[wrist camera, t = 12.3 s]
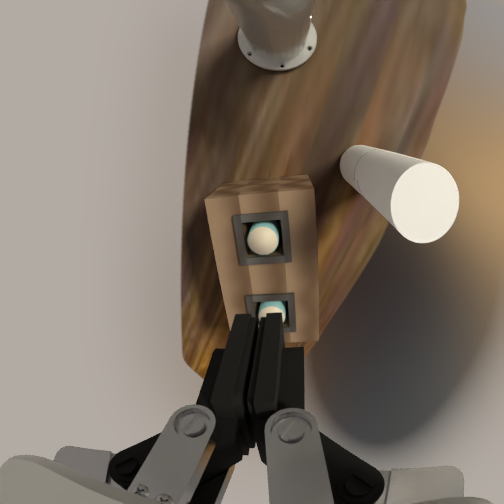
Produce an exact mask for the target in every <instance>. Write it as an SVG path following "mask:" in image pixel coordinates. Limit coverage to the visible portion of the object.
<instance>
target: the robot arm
mask: <svg viewBox="0 0 504 504" xmlns="http://www.w3.org/2000/svg"><path fill="white" fill-rule="evenodd" d="M379 1H391V0H379ZM226 2H227V3H228V5H229V7H230V8H231V10H232V12H233V14H234V16H235V18H236V20H237V22H238V24H239V26H240V28H239V31H238V43H239V47H240V49H241V51H242V53H243V54H244V56H245V57H246V58H247V59H248V60H249V61H250V62H251V63H253V64H254V65H256V66H258V67H260V68H263V69H266V70H271V71H286V70H291V69H294V68H296V67H299V66H300V65H302V64H304V63H305V62H306V61H307V60H308V59H309V58H310V57H311V56H312V54H313V53H314V50H315V48H316V44H317V34H316V30H315V28H314V25H313V24H312V22H311V19H312V14H313V9H314V4H315V0H226ZM309 48H310V49H311V50H310V51H309V50H308V49H309ZM249 54H252V55H251V56H249ZM281 65H283V66H284V67H283V68H281V67H280V66H281ZM255 443H257V447H258V450H259V454H260V458H261V461H262V462H263V463H264V464H266V465H267V473H268V487H269V501H270V504H492V503H491V502H490V501H488V500H486V499H482V498H476V497H463V496H464V478H463V474H462V472H461V471H460V470H459V469H457V468H456V467H453V466H440V467H428V468H406V469H392V470H391V471H378V470H377V469H376V468H374V467H373V466H371V465H369V464H368V463H366V462H364V461H363V460H361V459H360V458H358V457H357V456H355V455H353V454H352V453H350V452H349V451H347V450H345V449H344V448H343V447H341V446H340V445H338V444H337V443H335V442H334V441H332V440H331V439H329V438H328V437H326V436H325V435H324V434H322V433H321V432H320V431H319V429H318V424H317V422H316V419H315V418H314V416H313V415H311V414H310V413H309V412H307V411H305V410H304V347H294V348H285V341H284V329H283V318H282V312H277V313H266V317H261V319H260V325H259V327H258V320H257V317H252V315H251V314H235V317H234V320H233V324H232V327H231V331H230V334H229V337H228V341H227V344H226V348H225V349H215V350H214V352H213V354H212V357H211V360H210V363H209V366H208V369H207V372H206V375H205V378H204V381H203V385H202V387H201V390H200V393H199V396H198V399H197V402H196V405H187V406H185V407H182V408H180V409H178V410H177V411H176V412H174V414H173V415H172V416H171V417H170V419H169V421H168V422H167V424H166V426H165V428H164V429H163V431H162V432H161V433H159V434H157V435H155V436H153V437H151V438H149V439H147V440H145V441H142V442H140V443H138V444H136V445H134V446H131V447H129V448H127V449H125V450H123V451H120V452H119V453H117V454H113V453H112V452H111V451H102V450H94V449H86V448H80V447H73V446H65V447H63V448H61V449H60V450H59V451H58V452H57V454H56V456H55V459H54V461H52V460H49V459H47V458H43V457H39V456H33V455H19V456H14V457H12V458H10V459H8V460H7V461H6V462H5V463H4V464H3V465H2V466H1V468H0V504H221V501H222V499H223V496H224V494H225V491H226V489H227V486H228V483H229V481H230V479H231V476H232V474H233V471H234V468H235V464H236V463H238V462H239V461H241V460H242V456H243V455H248V454H249V448H254V447H255Z"/></svg>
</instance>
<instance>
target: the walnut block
mask: <svg viewBox="0 0 504 504" xmlns="http://www.w3.org/2000/svg"><path fill="white" fill-rule="evenodd" d="M204 200H205V206H206V211H207V217H208V222H209V228H210V233H211V239H212V244H213V249H214V255H215V260H216V265H217V270H218V275H219V280H220V285H221V290H222V295H223V299H224V304H225V309H226V314H227V318H228V323H229V328H230V331H231V327H232V324H233V320H234V317H235V314H251V315H252V317H257V320H258V327H259V325H260V321H259V318H258V314H259V308H260V302H266V301H286V314H285V321H284V322H283V329H284V341H285V342H306V341H318V340H319V278H318V247H317V226H316V209H315V194H314V187H313V185H312V183H311V181H310V179H309V176H308V175H297V176H285V177H273V178H263V179H253V180H244V181H235V182H226V183H223V184H222V185H221V186H220V187H218V188H217V189H216V190H215V191H214V192H212V193H211V194H210V195H209V196H208V197H207V198H205V199H204ZM269 220H281V226H280V231H279V242H278V246H277V248H276V249H275V251H274V252H272V253H270V254H268V255H259V254H256V253H255V252H253V251H252V250H251V249H250V247H249V246H248V242H247V238H248V235H249V232H250V229H251V227H252V224H253V222H257V221H269Z"/></svg>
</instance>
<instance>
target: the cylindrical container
mask: <svg viewBox="0 0 504 504" xmlns="http://www.w3.org/2000/svg"><path fill="white" fill-rule="evenodd" d="M340 171H341V174H342V176H343V178H344V179H345V180H346V181H347V182H348V183H349V184H350V185H351V186H352V187H353V188H354V189H356V190H357V191H358V192H359V193H360V194H361V195H362V196H363V197H364V198H365V199H366V200H367V201H369V202H370V203H371V204H372V205H373V206H374V207H375V208H376V209H377V210H378V211H379V212H380V213H381V214H382V215H383V216H384V217H385V218H386V219H387V220H388V221H389V222H390V223H391V224H392V225H393V226H394V227H395V228H396V229H397V230H398V231H399V232H400V233H401V234H402V235H403V236H404V237H405V238H407V239H408V240H411V241H413V242H417V243H428V242H432V241H435V240H436V239H438V238H440V237H441V236H442V235H444V234H445V233H446V232H447V231H448V230H449V229H450V227H451V225H452V224H453V223H454V220H455V218H456V215H457V212H458V208H459V193H458V189H457V185H456V183H455V181H454V179H453V177H452V176H451V175H450V173H449V172H448V171H447V170H446V169H444V168H443V167H441V166H439V165H437V164H434V163H431V162H428V161H424V160H421V159H417V158H414V157H410V156H406V155H402V154H399V153H395V152H391V151H386V150H382V149H378V148H373V147H369V146H364V145H355V146H352V147H350V148H348V149H347V150H346V151H345V152H344V153H343V155H342V157H341V160H340Z"/></svg>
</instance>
